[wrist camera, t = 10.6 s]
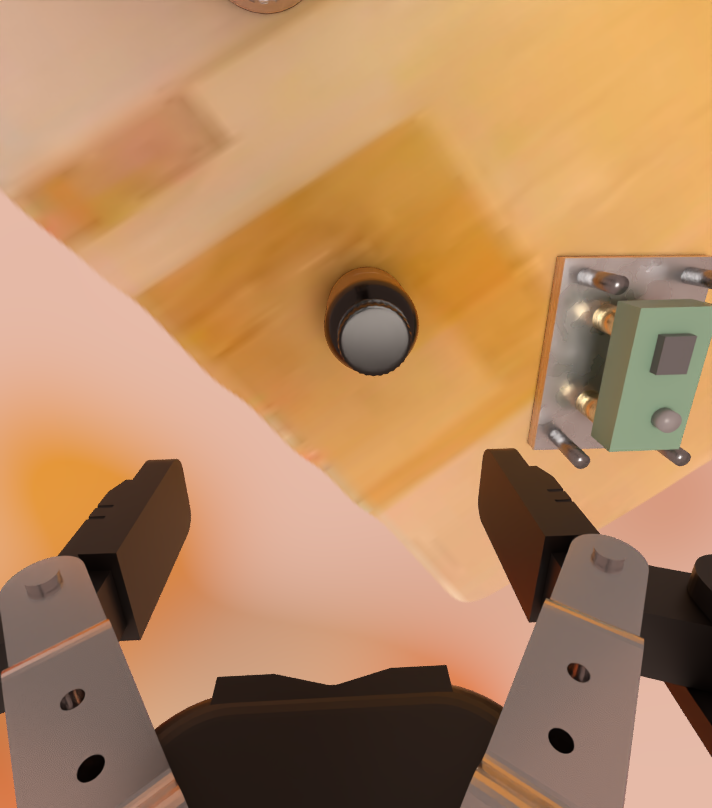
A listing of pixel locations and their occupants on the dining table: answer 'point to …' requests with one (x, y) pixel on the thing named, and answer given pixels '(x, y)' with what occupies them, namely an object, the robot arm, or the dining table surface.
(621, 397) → the board
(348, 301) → the supplement bottle
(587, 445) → the chassis
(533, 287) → the dining table surface
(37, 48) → the dining table surface
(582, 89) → the dining table surface
